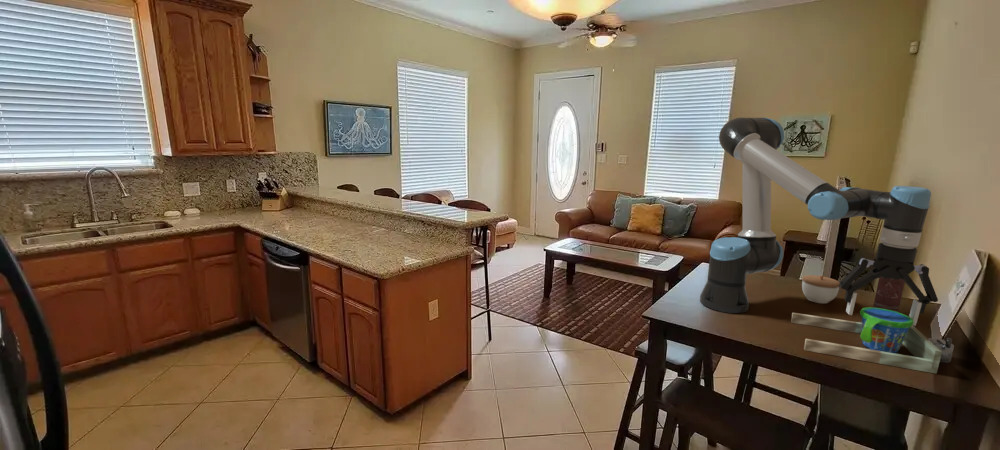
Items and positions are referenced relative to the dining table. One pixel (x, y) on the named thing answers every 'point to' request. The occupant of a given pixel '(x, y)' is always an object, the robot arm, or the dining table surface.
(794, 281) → the dining table surface
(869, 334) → the snack cup
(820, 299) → the lidded jar
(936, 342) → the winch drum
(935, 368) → the bay
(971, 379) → the dining table surface
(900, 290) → the can
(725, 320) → the dining table surface
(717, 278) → the robot arm
